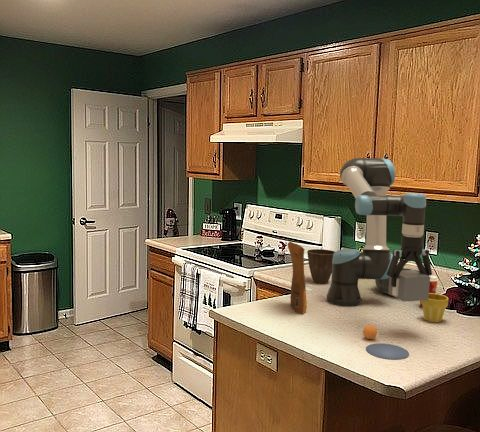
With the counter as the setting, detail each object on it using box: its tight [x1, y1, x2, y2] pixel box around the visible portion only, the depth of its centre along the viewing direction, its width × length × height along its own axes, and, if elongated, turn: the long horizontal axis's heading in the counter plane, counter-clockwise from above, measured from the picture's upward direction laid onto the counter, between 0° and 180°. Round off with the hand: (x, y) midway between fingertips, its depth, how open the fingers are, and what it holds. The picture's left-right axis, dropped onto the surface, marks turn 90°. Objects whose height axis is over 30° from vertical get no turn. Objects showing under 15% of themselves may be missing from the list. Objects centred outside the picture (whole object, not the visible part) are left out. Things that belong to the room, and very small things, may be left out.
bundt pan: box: [374, 267, 419, 296], centre depth 252 cm, size 26×26×10 cm
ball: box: [362, 324, 378, 340], centre depth 186 cm, size 5×5×5 cm
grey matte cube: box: [387, 269, 430, 302], centre depth 193 cm, size 10×10×9 cm
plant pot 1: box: [307, 248, 336, 285], centre depth 267 cm, size 15×15×16 cm
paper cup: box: [419, 274, 439, 309], centre depth 228 cm, size 8×8×14 cm
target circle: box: [365, 342, 410, 361], centre depth 175 cm, size 14×14×1 cm
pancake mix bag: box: [287, 241, 308, 315], centre depth 219 cm, size 7×19×28 cm, turn 6°
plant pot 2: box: [421, 293, 449, 323], centre depth 211 cm, size 10×10×10 cm
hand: (407, 294), depth 193 cm, fingers closed on grey matte cube, 10 cm apart
